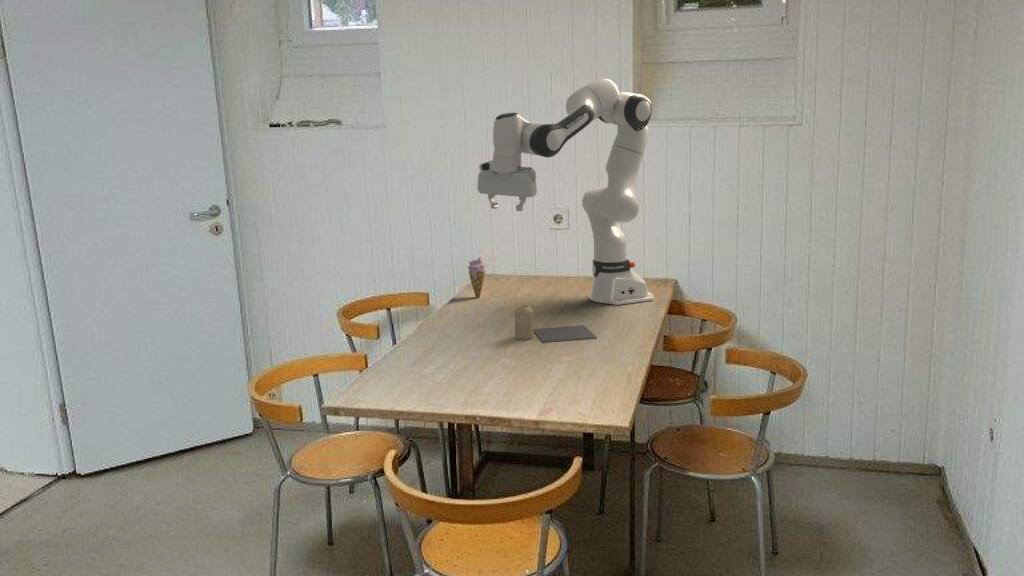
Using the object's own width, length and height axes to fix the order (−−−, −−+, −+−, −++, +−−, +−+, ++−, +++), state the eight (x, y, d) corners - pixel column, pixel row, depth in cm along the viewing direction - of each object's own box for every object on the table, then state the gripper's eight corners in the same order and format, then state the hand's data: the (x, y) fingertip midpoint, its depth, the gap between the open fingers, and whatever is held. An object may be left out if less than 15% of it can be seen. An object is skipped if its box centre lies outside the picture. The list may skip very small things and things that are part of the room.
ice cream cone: (485, 299, 324) (484, 258, 320) (468, 300, 324) (466, 259, 321) (486, 295, 330) (485, 255, 327) (469, 295, 331) (468, 255, 327)
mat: (584, 325, 288) (584, 325, 288) (597, 338, 275) (597, 337, 275) (532, 330, 285) (532, 329, 285) (542, 342, 272) (542, 341, 272)
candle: (531, 340, 275) (531, 308, 272) (513, 339, 276) (513, 307, 273) (534, 335, 280) (534, 303, 278) (517, 334, 281) (516, 303, 279)
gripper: (540, 166, 281) (540, 211, 284) (485, 163, 292) (485, 206, 295) (530, 168, 276) (529, 213, 279) (474, 164, 287) (474, 208, 290)
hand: (506, 209), depth 287 cm, fingers open, 8 cm apart
